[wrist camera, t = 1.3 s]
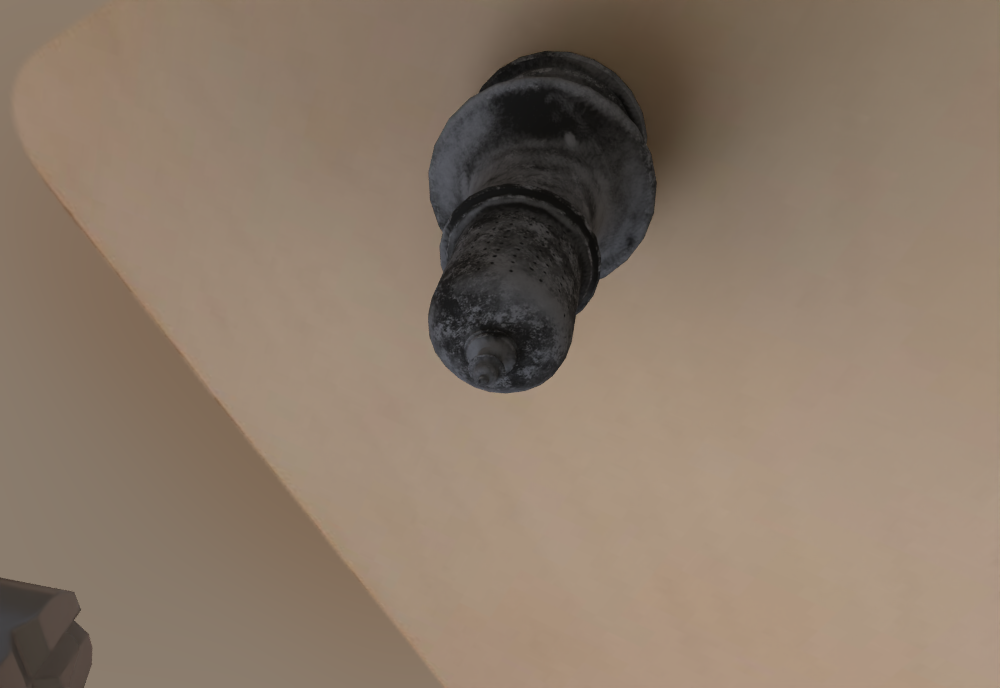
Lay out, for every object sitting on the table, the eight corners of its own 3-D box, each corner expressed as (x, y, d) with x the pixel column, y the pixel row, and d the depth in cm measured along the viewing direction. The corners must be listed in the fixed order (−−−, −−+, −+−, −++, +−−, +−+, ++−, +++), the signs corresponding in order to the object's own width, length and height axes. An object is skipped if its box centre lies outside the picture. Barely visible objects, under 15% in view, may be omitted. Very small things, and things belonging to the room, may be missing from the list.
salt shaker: (534, 268, 27) (460, 546, 17) (415, 119, 25) (255, 339, 15) (697, 168, 25) (718, 429, 15) (579, -6, 23) (512, 161, 13)
